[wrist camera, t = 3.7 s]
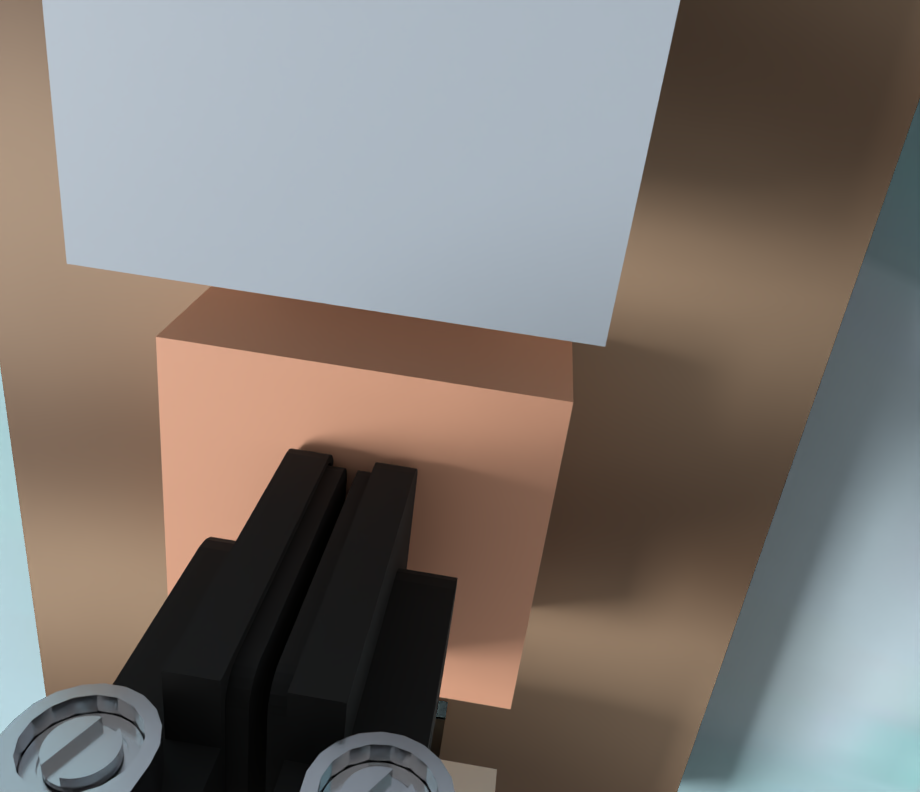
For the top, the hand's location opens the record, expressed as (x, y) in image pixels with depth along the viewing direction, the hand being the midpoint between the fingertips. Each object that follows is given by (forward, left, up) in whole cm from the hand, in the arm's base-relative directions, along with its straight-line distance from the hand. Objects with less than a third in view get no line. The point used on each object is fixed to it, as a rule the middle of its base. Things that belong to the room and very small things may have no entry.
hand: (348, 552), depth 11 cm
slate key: (-7, 0, -3) cm, 7 cm away
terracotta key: (0, 0, -5) cm, 5 cm away
